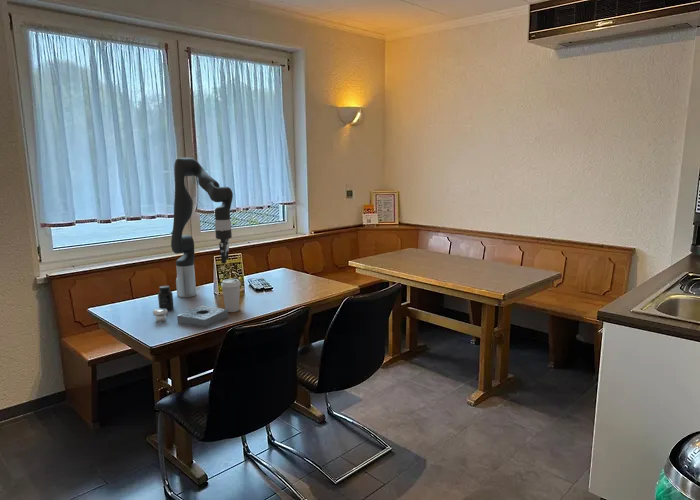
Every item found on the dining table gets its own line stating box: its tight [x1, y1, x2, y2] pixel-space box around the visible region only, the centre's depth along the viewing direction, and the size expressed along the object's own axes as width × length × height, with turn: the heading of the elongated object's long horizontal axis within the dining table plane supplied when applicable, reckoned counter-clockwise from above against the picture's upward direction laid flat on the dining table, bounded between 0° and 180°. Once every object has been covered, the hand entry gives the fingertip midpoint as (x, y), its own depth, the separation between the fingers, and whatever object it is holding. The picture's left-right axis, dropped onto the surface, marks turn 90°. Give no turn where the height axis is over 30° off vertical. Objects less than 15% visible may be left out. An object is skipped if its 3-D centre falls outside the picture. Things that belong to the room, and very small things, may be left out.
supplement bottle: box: [157, 285, 175, 312], centre depth 246 cm, size 7×7×12 cm
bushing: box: [152, 308, 168, 323], centre depth 230 cm, size 6×6×5 cm
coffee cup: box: [220, 278, 242, 313], centre depth 244 cm, size 10×10×15 cm
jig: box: [176, 305, 229, 329], centre depth 230 cm, size 16×16×4 cm
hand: (225, 261), depth 243 cm, fingers open, 8 cm apart
